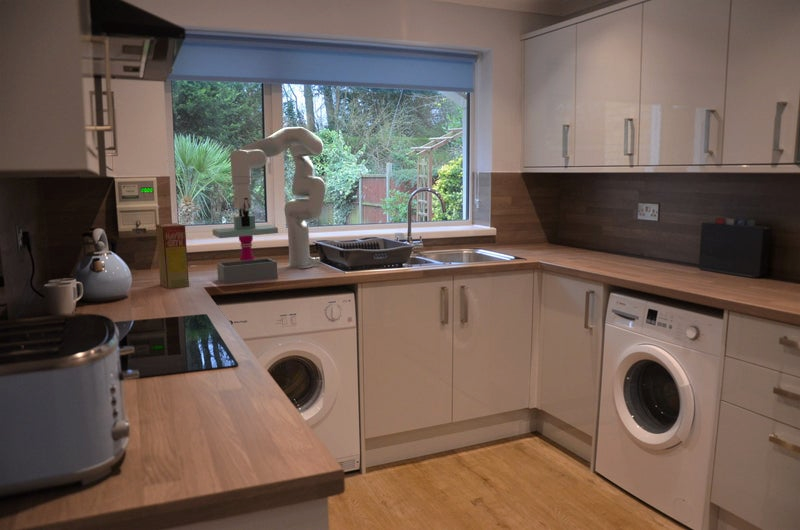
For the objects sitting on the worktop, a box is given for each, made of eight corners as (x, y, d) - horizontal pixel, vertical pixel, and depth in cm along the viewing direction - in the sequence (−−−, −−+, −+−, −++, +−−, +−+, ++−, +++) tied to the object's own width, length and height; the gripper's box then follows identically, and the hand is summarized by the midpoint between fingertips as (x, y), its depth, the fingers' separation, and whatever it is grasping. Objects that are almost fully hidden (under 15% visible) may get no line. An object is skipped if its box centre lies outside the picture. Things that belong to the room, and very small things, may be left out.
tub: (269, 276, 278) (268, 258, 277) (277, 280, 268) (276, 261, 267) (218, 281, 268) (216, 263, 267) (224, 286, 258) (223, 267, 257)
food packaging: (190, 286, 260) (185, 225, 256) (166, 289, 255) (161, 226, 251) (182, 281, 271) (177, 222, 267) (159, 284, 266) (153, 224, 262)
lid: (268, 230, 276) (267, 213, 275) (278, 233, 265) (276, 215, 263) (212, 234, 266) (211, 217, 264) (220, 238, 254) (218, 219, 253)
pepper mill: (250, 271, 292) (248, 227, 289) (259, 273, 287) (256, 228, 284) (236, 273, 287) (233, 229, 284) (245, 275, 282) (242, 230, 279)
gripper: (227, 180, 267) (231, 224, 270) (237, 182, 252) (240, 228, 256) (245, 180, 270) (248, 223, 273) (256, 181, 256) (259, 226, 259)
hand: (244, 225), depth 264 cm, fingers closed on lid, 3 cm apart
